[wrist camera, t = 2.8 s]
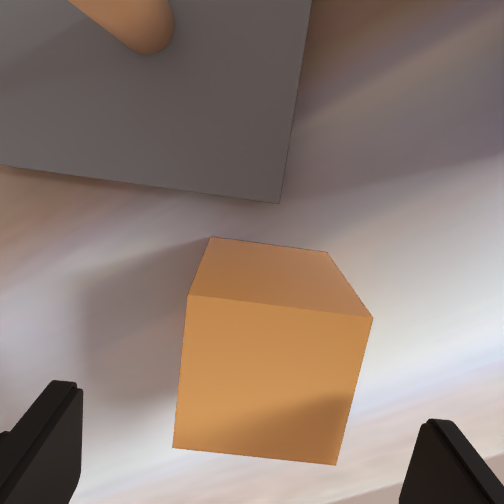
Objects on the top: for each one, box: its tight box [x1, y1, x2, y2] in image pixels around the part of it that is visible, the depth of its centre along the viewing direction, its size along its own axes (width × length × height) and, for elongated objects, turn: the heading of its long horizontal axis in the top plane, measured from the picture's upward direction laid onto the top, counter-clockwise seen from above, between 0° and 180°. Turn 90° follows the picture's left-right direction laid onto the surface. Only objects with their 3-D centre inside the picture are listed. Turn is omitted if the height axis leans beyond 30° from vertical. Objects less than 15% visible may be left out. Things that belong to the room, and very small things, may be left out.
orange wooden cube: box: [172, 237, 373, 465], centre depth 15 cm, size 6×6×7 cm
